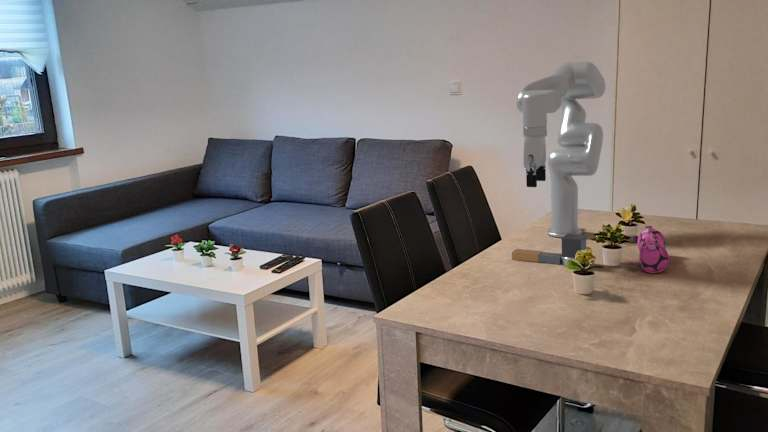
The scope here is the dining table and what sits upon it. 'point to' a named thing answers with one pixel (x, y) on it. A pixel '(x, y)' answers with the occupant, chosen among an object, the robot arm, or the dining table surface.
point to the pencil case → (652, 250)
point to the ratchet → (539, 256)
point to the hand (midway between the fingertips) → (536, 183)
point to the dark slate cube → (572, 244)
